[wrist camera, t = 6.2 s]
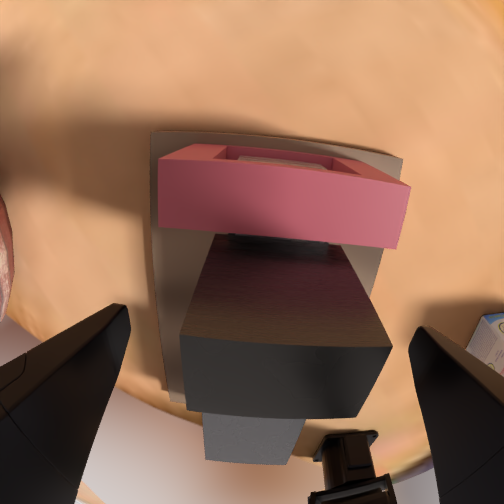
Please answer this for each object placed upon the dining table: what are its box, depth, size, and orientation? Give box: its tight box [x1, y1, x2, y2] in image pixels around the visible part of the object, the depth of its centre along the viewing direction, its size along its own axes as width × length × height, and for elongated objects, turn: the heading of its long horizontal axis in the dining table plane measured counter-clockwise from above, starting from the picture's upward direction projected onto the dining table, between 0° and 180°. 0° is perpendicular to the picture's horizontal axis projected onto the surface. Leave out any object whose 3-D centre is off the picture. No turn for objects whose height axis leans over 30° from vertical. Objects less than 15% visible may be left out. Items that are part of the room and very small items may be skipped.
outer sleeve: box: [202, 412, 306, 465], centre depth 19 cm, size 8×6×6 cm
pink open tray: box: [158, 144, 411, 249], centre depth 13 cm, size 2×9×6 cm, turn 85°
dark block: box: [179, 156, 393, 419], centre depth 13 cm, size 14×5×10 cm, turn 175°
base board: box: [150, 131, 403, 404], centre depth 20 cm, size 22×14×1 cm, turn 175°
